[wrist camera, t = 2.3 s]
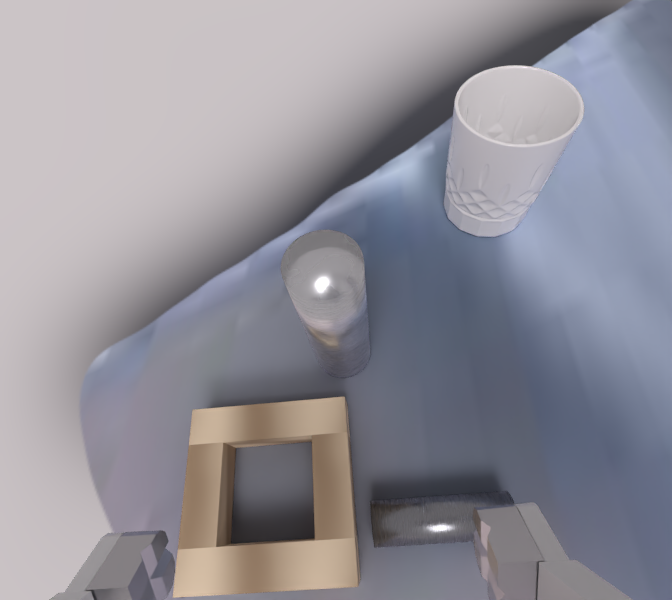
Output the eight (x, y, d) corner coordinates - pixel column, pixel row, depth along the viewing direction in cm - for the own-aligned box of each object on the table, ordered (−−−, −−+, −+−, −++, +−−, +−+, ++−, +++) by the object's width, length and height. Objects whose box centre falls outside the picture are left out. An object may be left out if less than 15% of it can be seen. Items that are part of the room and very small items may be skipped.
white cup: (428, 180, 37) (442, 75, 28) (514, 166, 36) (556, 56, 28) (449, 250, 33) (473, 155, 24) (546, 236, 33) (606, 134, 24)
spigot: (367, 324, 31) (360, 225, 20) (373, 375, 29) (367, 295, 18) (315, 329, 31) (280, 234, 20) (317, 380, 29) (280, 304, 18)
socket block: (347, 405, 28) (344, 396, 26) (360, 579, 23) (358, 586, 21) (207, 417, 28) (192, 409, 26) (192, 589, 24) (172, 597, 22)
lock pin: (503, 512, 25) (504, 481, 24) (519, 548, 22) (520, 516, 22) (372, 521, 25) (369, 491, 24) (375, 557, 23) (372, 526, 22)
